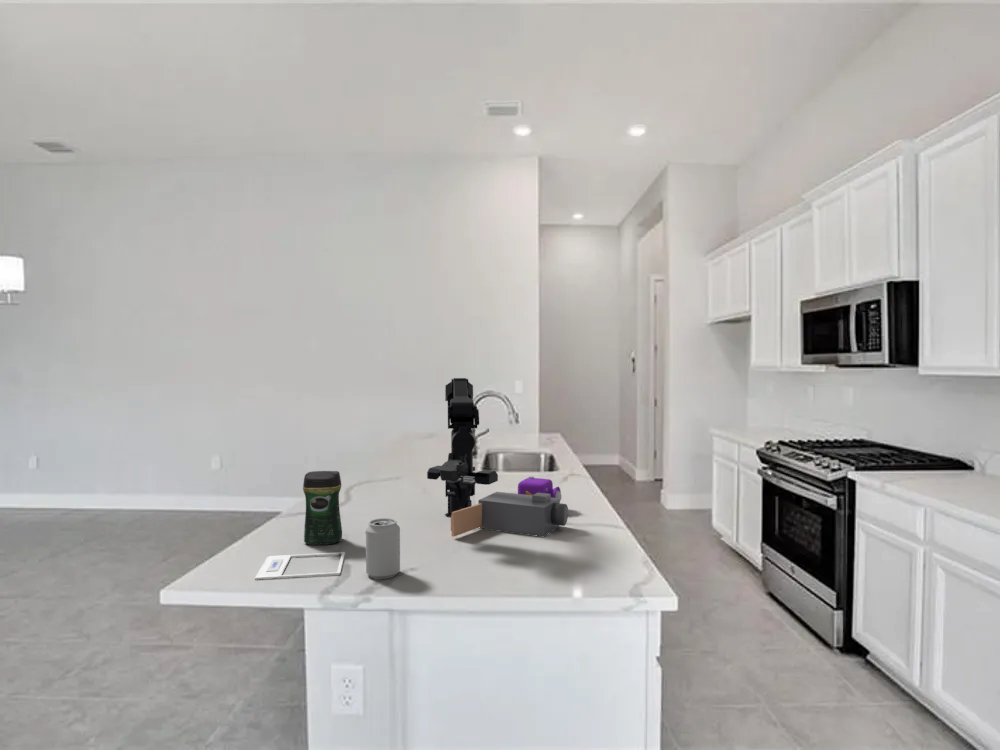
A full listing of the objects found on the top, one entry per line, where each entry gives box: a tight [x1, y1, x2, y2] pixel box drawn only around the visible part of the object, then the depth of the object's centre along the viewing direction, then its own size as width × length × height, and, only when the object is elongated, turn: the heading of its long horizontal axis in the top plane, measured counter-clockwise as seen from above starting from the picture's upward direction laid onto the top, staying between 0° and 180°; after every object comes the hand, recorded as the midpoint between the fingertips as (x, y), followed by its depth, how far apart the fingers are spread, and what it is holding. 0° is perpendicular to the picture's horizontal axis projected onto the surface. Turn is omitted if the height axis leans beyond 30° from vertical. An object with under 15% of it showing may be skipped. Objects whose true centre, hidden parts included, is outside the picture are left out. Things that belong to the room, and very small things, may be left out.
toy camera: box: [517, 475, 562, 502], centre depth 194 cm, size 11×14×10 cm
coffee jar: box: [302, 470, 343, 546], centre depth 161 cm, size 10×8×19 cm
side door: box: [450, 503, 482, 537], centre depth 168 cm, size 12×2×6 cm, turn 144°
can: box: [365, 517, 401, 580], centre depth 137 cm, size 8×8×12 cm
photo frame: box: [254, 551, 346, 581], centre depth 142 cm, size 15×1×18 cm
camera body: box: [477, 491, 569, 537], centre depth 174 cm, size 23×12×10 cm, turn 64°
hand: (462, 507), depth 163 cm, fingers closed
